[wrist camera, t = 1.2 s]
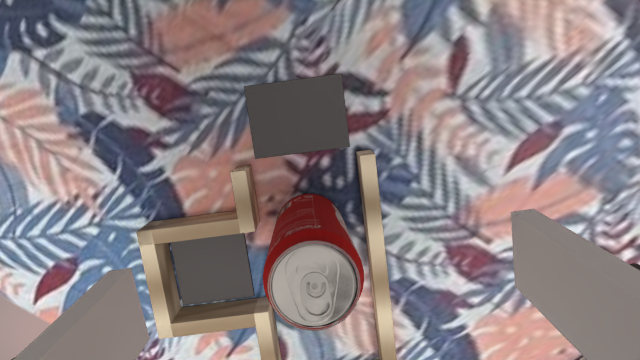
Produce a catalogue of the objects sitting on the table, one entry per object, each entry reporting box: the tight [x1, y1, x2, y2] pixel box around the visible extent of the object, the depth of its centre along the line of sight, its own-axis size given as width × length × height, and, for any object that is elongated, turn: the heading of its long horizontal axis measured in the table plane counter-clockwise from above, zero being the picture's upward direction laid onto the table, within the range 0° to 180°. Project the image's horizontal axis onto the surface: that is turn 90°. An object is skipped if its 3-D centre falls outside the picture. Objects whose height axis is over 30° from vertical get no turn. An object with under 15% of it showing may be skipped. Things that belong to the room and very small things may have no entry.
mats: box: [171, 74, 350, 305], centre depth 38 cm, size 18×16×1 cm
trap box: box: [137, 150, 397, 360], centre depth 37 cm, size 21×20×4 cm
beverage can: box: [263, 194, 364, 331], centre depth 31 cm, size 6×6×15 cm
